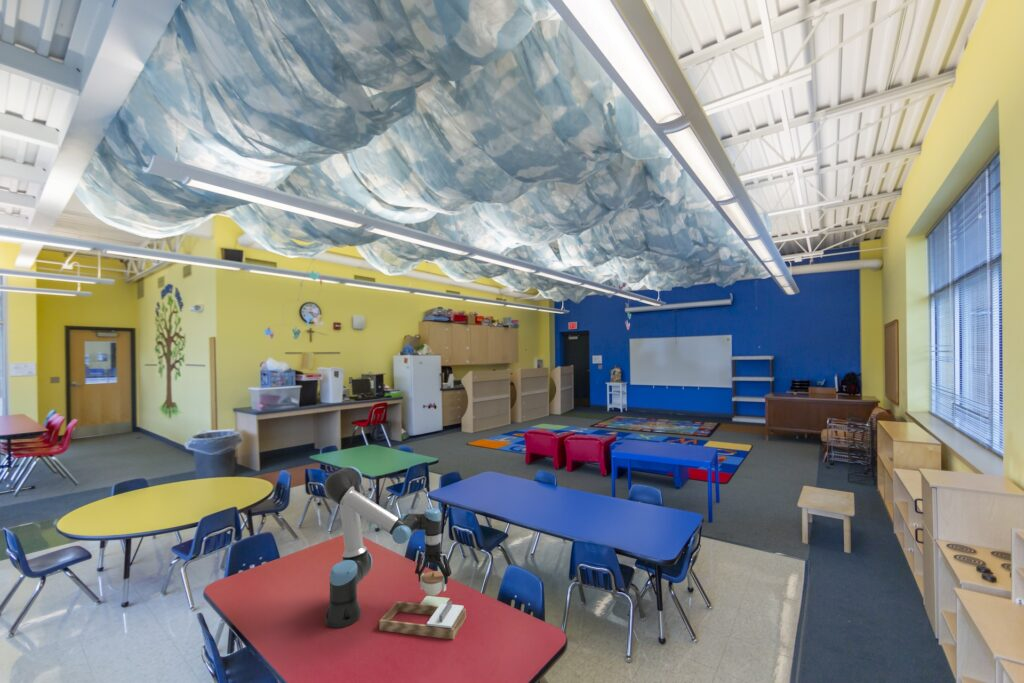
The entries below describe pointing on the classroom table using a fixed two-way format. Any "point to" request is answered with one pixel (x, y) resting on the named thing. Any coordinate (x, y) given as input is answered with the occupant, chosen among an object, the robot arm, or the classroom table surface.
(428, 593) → the lidded jar
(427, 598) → the mat
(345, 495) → the robot arm
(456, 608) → the lid
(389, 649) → the classroom table surface
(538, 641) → the classroom table surface
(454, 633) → the wooden rectangular frame
